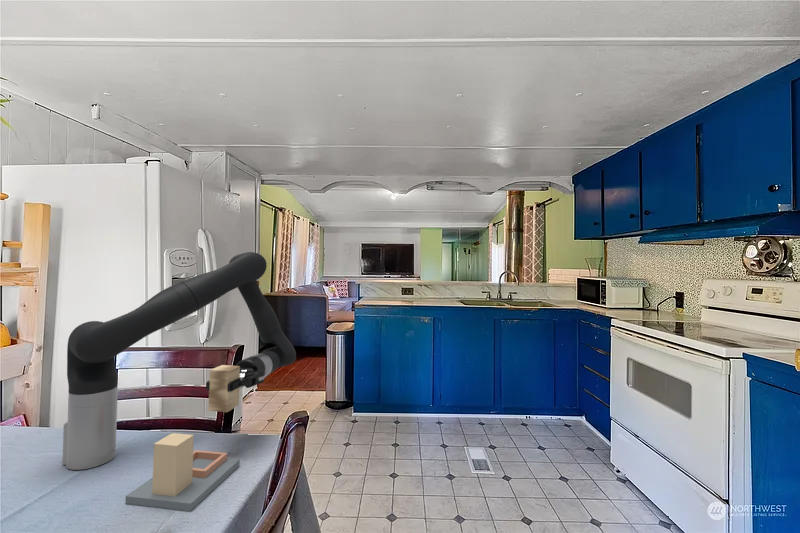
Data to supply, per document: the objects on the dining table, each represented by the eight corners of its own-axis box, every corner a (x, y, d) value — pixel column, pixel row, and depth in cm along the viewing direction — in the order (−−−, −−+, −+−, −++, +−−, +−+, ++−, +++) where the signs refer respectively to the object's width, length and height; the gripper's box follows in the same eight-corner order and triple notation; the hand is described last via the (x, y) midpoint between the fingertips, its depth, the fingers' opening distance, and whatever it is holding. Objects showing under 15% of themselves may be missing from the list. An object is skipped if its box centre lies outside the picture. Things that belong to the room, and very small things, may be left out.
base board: (125, 503, 74) (127, 445, 74) (185, 460, 91) (186, 413, 91) (190, 511, 72) (192, 451, 72) (239, 465, 89) (240, 417, 89)
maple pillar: (208, 410, 92) (209, 369, 92) (220, 403, 97) (221, 364, 97) (227, 412, 91) (228, 371, 91) (238, 404, 96) (239, 366, 96)
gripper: (231, 354, 109) (191, 369, 93) (277, 357, 108) (246, 373, 91) (230, 380, 109) (190, 400, 92) (277, 383, 107) (245, 404, 91)
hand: (218, 386), depth 92 cm, fingers closed on maple pillar, 5 cm apart
